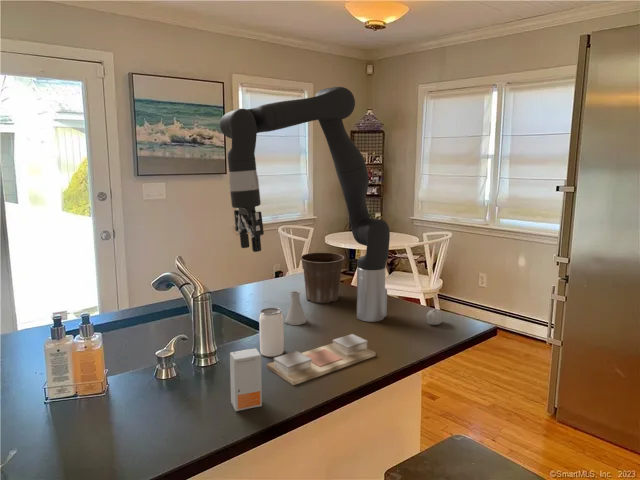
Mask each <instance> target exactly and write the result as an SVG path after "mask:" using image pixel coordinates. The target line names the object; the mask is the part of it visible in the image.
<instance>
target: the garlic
mask: <svg viewBox="0 0 640 480" xmlns="http://www.w3.org/2000/svg"><path fill="white" fill-rule="evenodd" d="M425 317H426V322H427V324H429V325H431V326H437V325H441V324H442V323H443V322H444V314H443V312H442V311H440V310H437V309H435V308H433V309H429V310H428V312H427V313H426V316H425Z"/></svg>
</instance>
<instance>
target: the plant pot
mask: <svg viewBox="0 0 640 480" xmlns="http://www.w3.org/2000/svg"><path fill="white" fill-rule="evenodd" d="M300 261H301V264H302V266H301V267H302V269H303V277H304V288H305V298H306V300H307V301H310V302H311V303H314V304H329V303H331V302H333V303H334V302H336V301H338V300H339V297H340V296H339V295H340V283H341V275H342V269H343V263H344V261H345V256H344V255H342V254H339V253H336V252H325V251H324V252H323V251H322V252H309V253H304V254H302V255H301V256H300Z"/></svg>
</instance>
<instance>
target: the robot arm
mask: <svg viewBox="0 0 640 480" xmlns="http://www.w3.org/2000/svg"><path fill="white" fill-rule="evenodd" d="M355 107H356V99H355V96H354V94H353V92H352V91H351V90H350V89H348V88H347V87H343V86H332V87H327V88H323V89H320V90H319V91H317V92H316V93H315V96H313V97H312V96H311V97H307V98H305V97H304V98H298V99H291V100H282V101H276V102H270V103H267V104H266V103H265V104H262V105H259V106H255V107H254V108H238V109H234V110H231V111H228V112H226V113H225V114H224V115H222V117H221V119H220V122H219V128H220V131H221V133H222V134H223V135H224V136H225V137H227V138H228V139H231V148H230V149H229V150H228V153H227V163H228V164H227V165H228V177H229V178H228V179H229V181H228V182H229V183H228V184H229V191H230V192H229V193H230V200H231V207H232V208H233V209H234V210H233V213H234V215H233V216H234V225H235V232H237V233H238V235H239V241H240V242H239V243H240V248H241V249H247V248H249V247H250V239H251V250H252V252H253V253H257V252H258V253H259V252H261V251H262V243H261V237H262V236H263V235H264V233H265V232H264V224H263V215H262V212H261V211H256V207H259V206H260V205H262V204H261V193H260V184H259V183H260V182H259V176H258V172H257V163H256V156H255V153H256V144H257V135H258V134H259V133H268V132H269V133H270V132H274V131H277V130H278V131H279V130H283V129H286V128H291V127H293V126H298V125H301V124H305V123H309V122H313V121H318V123H319V125H320V128H321V129H322V132H323V134H324V137H325V139H326V143H327V146H328V148H329V151H330V155H331V159H332V161H333V165H334V168H335V172H336V175H337V178H338V182H339V184H340V188H341V191H342V194H343V197H344V198H343V199H344V201H345V203H346V204H345V205H346V208H347V213H348V217H349V222H350V228H351V229H350V230H351V233H352V237H353V238H354V240H355V242H357V243H358V244H359V245H362V246H366V249H365V250H366V251H365V255H362V256H359V257H358V259H357V260H356V262H357V267H356V277H357V278H356V318H357V319H358V320H360V321H362V322H369V323H370V322H372V323H375V322H380V321H382V320H384V319H385V318H386V317H388V316H387V313H388V312H387V310H388V288H386V267H387V266H386V264H387V261H388V258H389V252H390V251H389V250H390V237H391V235H390V234H391V233H390V227H389V224H388V223H387V222H386V221H385V220H383V219H380V218H375V217H374V218H373V217H371V215H370V212H369V209H368V205H367V198H366V197H367V193H368V188H369V182H370V177H369V171H368V169H367V165H366V161H365V158H364V156H363V154H362V153H361V151H360V149H359V148H358V147H357V145H356V144H355V143H354V141H353V140H352V139H351V138H350V136H349V134H348V133H347V131H346V128H345V125H344V122H343V120H345V119H347V118H348V117H350V116H351V115H352V113H353V112H354V110H355ZM249 234H250V235H249ZM249 236H250V238H249Z"/></svg>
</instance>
